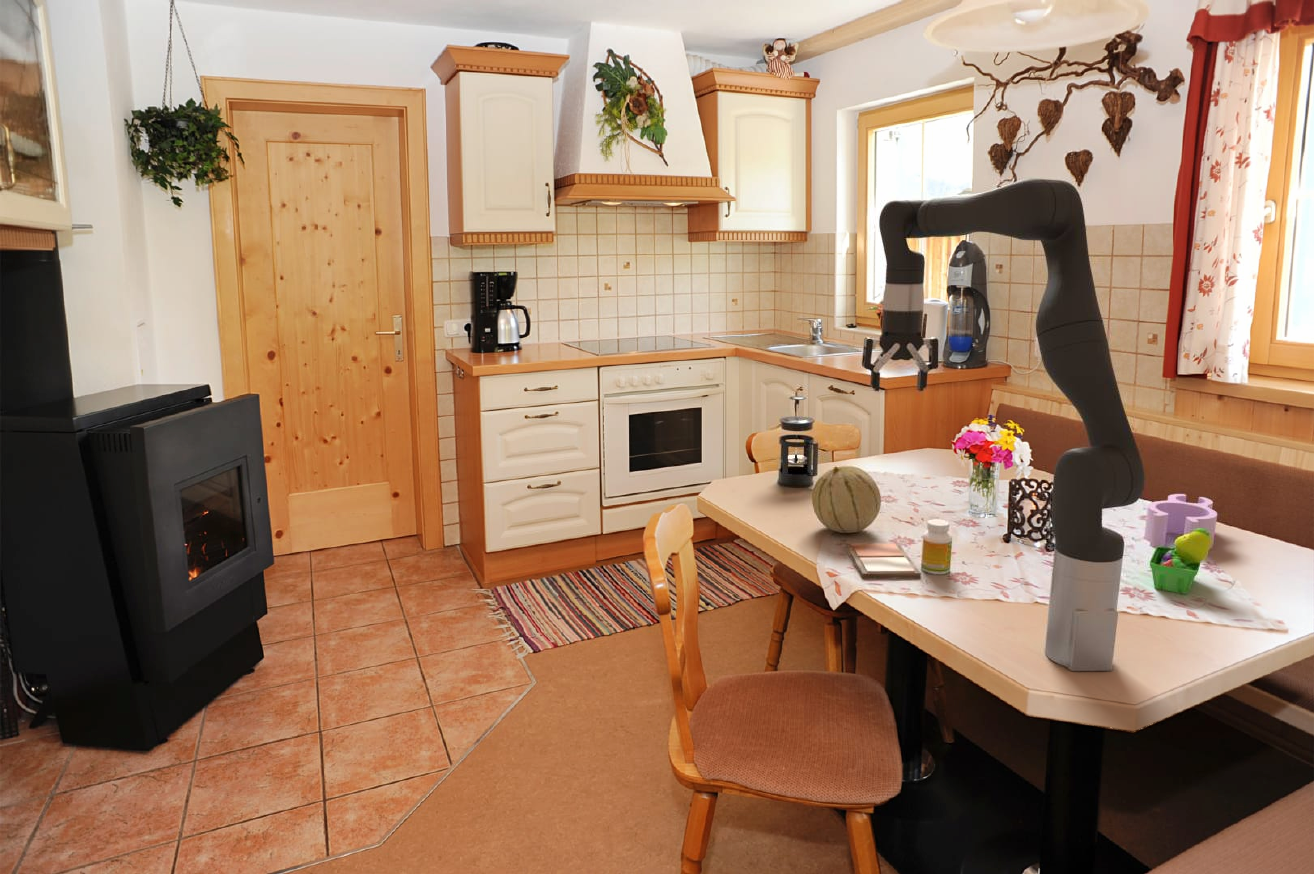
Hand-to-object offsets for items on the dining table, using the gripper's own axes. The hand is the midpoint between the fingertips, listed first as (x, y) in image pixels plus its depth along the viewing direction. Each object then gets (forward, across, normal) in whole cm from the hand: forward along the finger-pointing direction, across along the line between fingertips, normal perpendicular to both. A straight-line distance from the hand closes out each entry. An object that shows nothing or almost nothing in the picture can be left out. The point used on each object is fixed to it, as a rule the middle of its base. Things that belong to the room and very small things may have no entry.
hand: (898, 390), depth 172 cm
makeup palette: (+34, -3, -6) cm, 34 cm away
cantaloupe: (+34, -7, +13) cm, 37 cm away
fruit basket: (+34, +49, -17) cm, 62 cm away
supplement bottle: (+34, +7, -10) cm, 36 cm away
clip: (+34, +64, +8) cm, 72 cm away
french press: (+34, -12, +51) cm, 63 cm away
